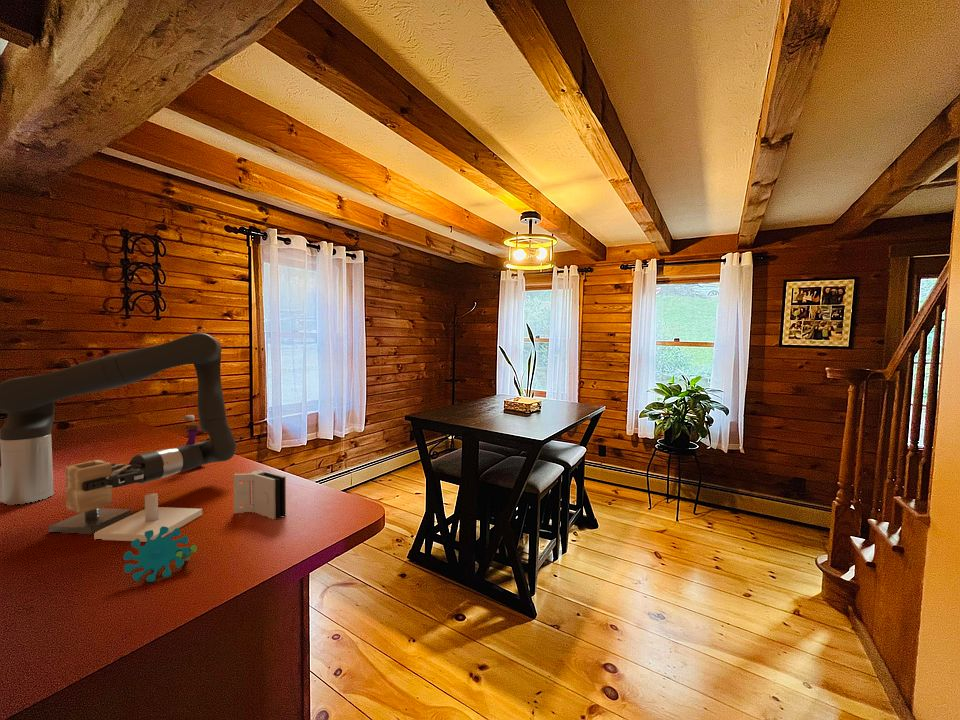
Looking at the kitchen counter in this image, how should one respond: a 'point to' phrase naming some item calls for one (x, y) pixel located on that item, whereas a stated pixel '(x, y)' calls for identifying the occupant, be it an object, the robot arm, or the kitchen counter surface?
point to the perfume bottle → (192, 431)
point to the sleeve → (87, 499)
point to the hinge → (260, 493)
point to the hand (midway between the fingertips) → (75, 484)
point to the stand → (90, 521)
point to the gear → (158, 554)
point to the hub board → (148, 522)
